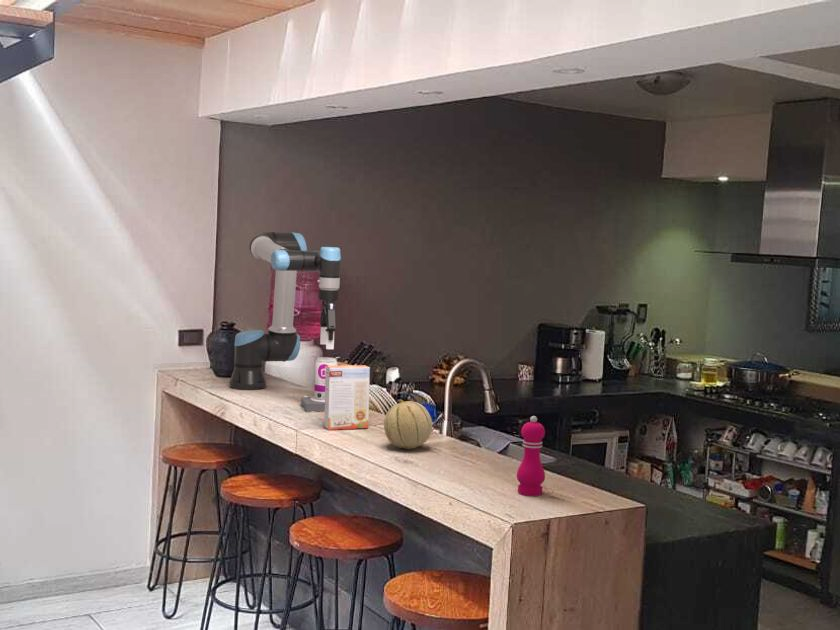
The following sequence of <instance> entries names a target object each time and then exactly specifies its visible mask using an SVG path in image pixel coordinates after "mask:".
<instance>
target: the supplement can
mask: <svg viewBox="0 0 840 630" xmlns="http://www.w3.org/2000/svg"><path fill="white" fill-rule="evenodd" d="M326 366H338V360H337V358H336V357H331V356H330V357H327V356H324V357H323V356H321V357H317V358H316V359H315V361H314V387H313V388H314V389H313V391H314V393H313V395H314V396H313V397H315V398H316V399H318V400H325V372H326Z"/></svg>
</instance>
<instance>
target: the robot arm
mask: <svg viewBox="0 0 840 630" xmlns="http://www.w3.org/2000/svg"><path fill="white" fill-rule="evenodd" d="M248 251H249V254H250V255H251V256H252V257H253V258H254V259H257V260H260V261H267V262H268V263H270V264H271V268H272V269H273V270H274V271H275V276H274V277H275V279H274V280H275V281H274V292H273V295H274V296H273V309H272V322H271V323H272V324H271V326H269V327H268V328H267V329H268V330H267V333H265V332H264V330H261V329H256V330H255V329H250V330H243V331H240V332H238V333H236V335H235V336H234V337H235V338H234V344H233V345H234V359H233V361H234V365H233V371H232V373H231V377H230V379H229V384H228V387H229V386H230V387H233V388H232V389H234V388H238V389H237V390H244V389H255V390H260V389H259V388H264V389H266V388H267V384H268V382H267V379H266V375H265V372H264V369H263V368H264V367H263V365H264V362H291V361H294V360H295V359H297V357H298V355H299V354H300V349H301V337H300V335H299V333H297V329H296V327H294V316H295V315H294V314H295V301H296V288H297V287H296V284H297V275H298V274H297V273H298V272H319V276H318V277H319V278H318V279H317V283H318V288H319V289H318V296H317V297H318V300H319V301H320V300H321V310H320V311H321V312H320V319H319V324H320V337H319V338H320V339H319V342H320V343H319V345H325V349H326V350H335V349H334V348H335V346H334V345H335V331H336V330H337V328H336V311H335V310H336V303H334V301H339V299H340V290H339V289H340V283H341V280H340V279H341V278H340V275H341V271H340V270H341V260H342V256H341V254H342V253H341V249H340V247H338V246H337V247H336V246H334V247H333V246H321V247H320V250H308V248H307V242H306V239H305V237H304V236H303V234H301V233H299V232H292V231H291V232H290V231H262V232H259V233H257V234H255V235H254V236H252V237H251V239H250V240H249V242H248ZM230 387H229V388H230ZM265 387H266V388H265Z"/></svg>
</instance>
